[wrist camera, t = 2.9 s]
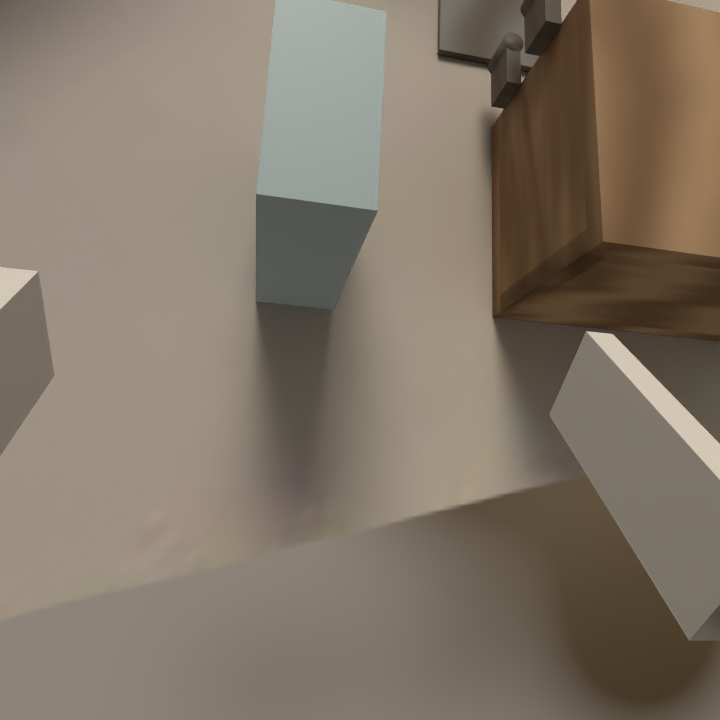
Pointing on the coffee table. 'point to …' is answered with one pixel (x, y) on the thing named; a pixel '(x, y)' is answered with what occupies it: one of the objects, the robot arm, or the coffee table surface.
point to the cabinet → (601, 160)
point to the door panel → (318, 149)
